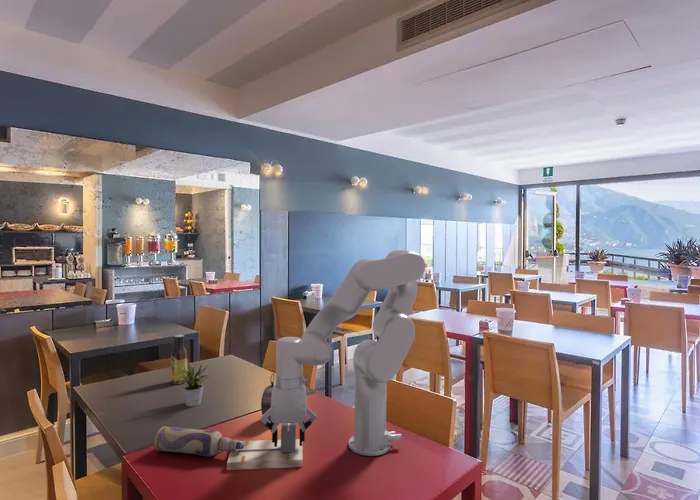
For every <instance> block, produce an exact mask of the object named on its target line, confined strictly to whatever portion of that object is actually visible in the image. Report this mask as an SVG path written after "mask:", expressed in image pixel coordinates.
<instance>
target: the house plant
mask: <svg viewBox="0 0 700 500" xmlns="http://www.w3.org/2000/svg"><path fill="white" fill-rule="evenodd" d="M178 363H179V362H178ZM180 364H181V363H180ZM197 364H198V363H197ZM197 364H196V363H194V366H193V367H192V364H190V362H189V361H188V360H187V370H186V369H185V367H184V365H183V364H181V365H182V366H183V368H184V370H185V371H186V372H185V371H184V370H182V369H181V370H182V371H183V372H184V373H185V374H186V373H187V374H186V375H187V376H186V375H184V374H183V373H182V372H181V371H180V372H181V373H182V374H183V375H182V376H181V377H182V379H185V380H186V382H184V381H185V380H182V381H180V382H179V384H177V385H178V386H179V385H180V383H181V384H185V386H183V387H182V390H183V396H184V402H185V406H187V407H196V406H199V405H201V402H202V398H203V397H202V396H203V392H204V391H203V390H204V385H203V384H202V382H203V381H205V379H209V378H210V377H209V376H208V375H205V374H204V375H202V373H203V372H204V371H205V370H206V369H207V368H208V367H209V366H210V365H212V364H213V362H211V363H209V364H207V365H206V366H205V367H203V368H202V365H203V363H201V364H200V366H199V368H198V370H197V371H196V372H195V367H196V365H197ZM179 369H180V368H179ZM202 378H203V379H202ZM175 380H178V379H175ZM182 382H183V383H182ZM186 383H187V384H186Z"/></svg>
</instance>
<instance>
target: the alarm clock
mask: <svg viewBox="0 0 700 500" xmlns="http://www.w3.org/2000/svg"><path fill="white" fill-rule="evenodd" d="M272 378H273V379H272ZM270 380H271V381H270V384H269V385H267V386H266V387H265V388H264V390H263V393H262V395H261V402H260V409H261V414H262V415H263V414H264V413H266V412H267V411H268V410H269V409H270V408H271V397H272V390H273V386H274V385H275V384H274V383H275V373H273V372H272V373H271V376H270ZM262 415H261V416H262ZM267 419H268V420H269V421H270V422H271V416H269V417H268V418H267Z"/></svg>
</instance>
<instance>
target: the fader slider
mask: <svg viewBox="0 0 700 500" xmlns="http://www.w3.org/2000/svg"><path fill="white" fill-rule="evenodd" d="M296 428H297V423H281V429H280V440H281V453H283V452H295V445H296V439H297V438H296V437H297V434H296V431H297V429H296Z"/></svg>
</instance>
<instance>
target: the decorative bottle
mask: <svg viewBox="0 0 700 500" xmlns="http://www.w3.org/2000/svg"><path fill="white" fill-rule="evenodd" d="M154 436H155V437H154V439H153V440H154V441H153V446H154V449H155V450H156V451H158V452H169V453H170V452H171V453H180V454H181V453H182V454H190V455H191V454H193V455H197V456H199V457H208V458H210V457H211V458H212V457H214V456H217V455H218V454H220V453H224V452H228V451H231V450H233V451H236V450H237V449H243V448H244V444H243V443H242V442H239V441H240V440H238V439H231V438H229V437H224V436H223V435H222V433H221V432H220V431H217V430H210V429H209V430H208V429H195V428H185V427H176V426H166V425H165V426H161V427H160V428H159V429H158V430H157V432H156V433H155V435H154Z"/></svg>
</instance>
